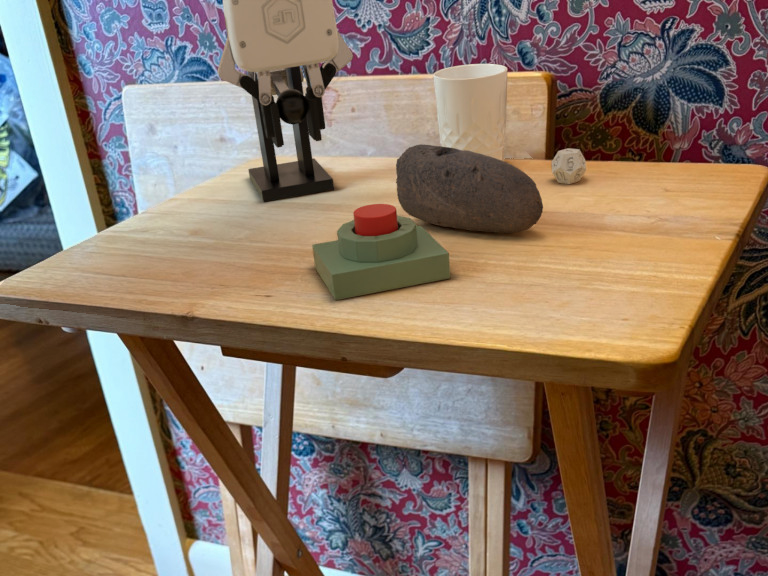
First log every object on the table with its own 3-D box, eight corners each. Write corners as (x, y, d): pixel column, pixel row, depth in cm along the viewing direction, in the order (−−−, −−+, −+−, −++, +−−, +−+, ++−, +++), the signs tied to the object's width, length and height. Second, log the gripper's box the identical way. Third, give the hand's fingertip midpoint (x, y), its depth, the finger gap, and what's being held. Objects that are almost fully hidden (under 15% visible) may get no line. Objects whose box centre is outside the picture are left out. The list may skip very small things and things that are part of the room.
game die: (567, 188, 92) (568, 157, 90) (543, 181, 95) (544, 151, 93) (593, 180, 93) (594, 150, 92) (569, 174, 96) (569, 144, 94)
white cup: (518, 160, 102) (517, 63, 96) (494, 180, 96) (492, 78, 90) (454, 158, 105) (450, 63, 99) (427, 177, 99) (421, 79, 93)
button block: (335, 300, 73) (328, 252, 71) (315, 269, 79) (308, 223, 77) (450, 278, 75) (448, 231, 72) (422, 249, 81) (419, 204, 79)
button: (361, 241, 73) (359, 220, 72) (351, 228, 76) (348, 208, 75) (403, 233, 74) (401, 212, 73) (391, 221, 77) (389, 201, 76)
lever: (312, 126, 89) (309, 92, 87) (281, 131, 89) (277, 97, 86) (288, 88, 97) (284, 56, 95) (260, 92, 97) (255, 60, 95)
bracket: (334, 189, 98) (318, 61, 91) (263, 202, 97) (241, 72, 89) (315, 168, 106) (299, 48, 99) (250, 179, 105) (228, 58, 97)
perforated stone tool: (556, 230, 82) (557, 151, 78) (525, 249, 79) (525, 167, 75) (426, 210, 90) (422, 137, 86) (394, 226, 87) (387, 151, 83)
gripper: (177, -63, 76) (221, 163, 87) (363, -85, 78) (383, 136, 89) (170, -66, 81) (213, 146, 92) (344, -87, 84) (365, 121, 95)
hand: (296, 139), depth 91 cm, fingers closed on lever, 3 cm apart
